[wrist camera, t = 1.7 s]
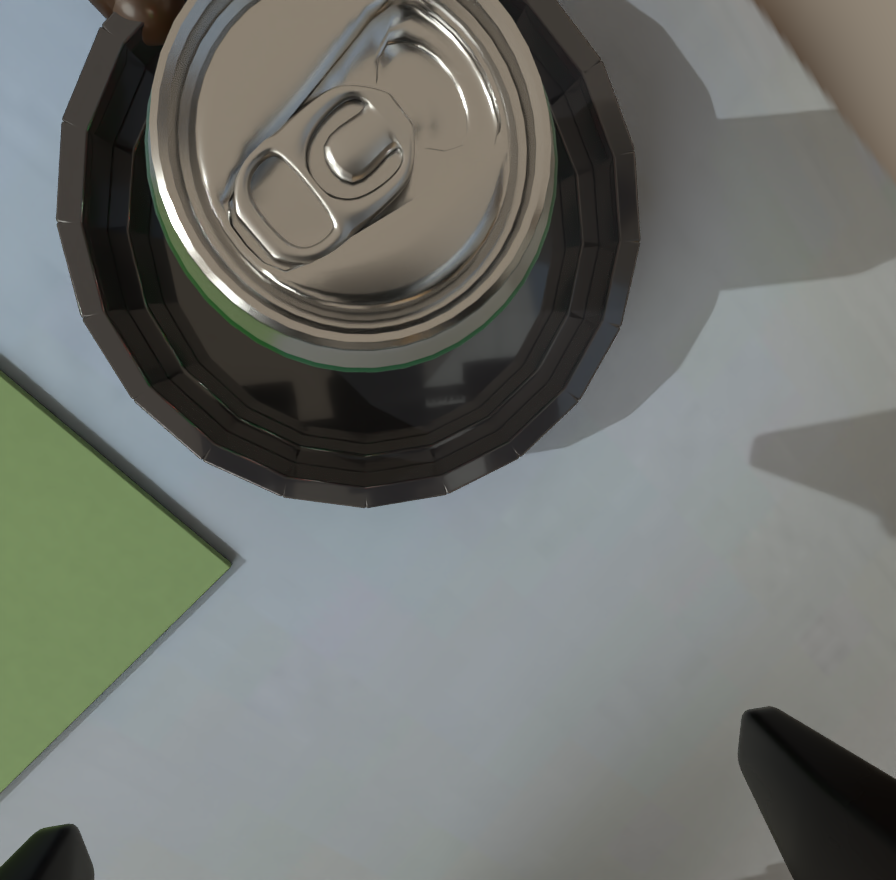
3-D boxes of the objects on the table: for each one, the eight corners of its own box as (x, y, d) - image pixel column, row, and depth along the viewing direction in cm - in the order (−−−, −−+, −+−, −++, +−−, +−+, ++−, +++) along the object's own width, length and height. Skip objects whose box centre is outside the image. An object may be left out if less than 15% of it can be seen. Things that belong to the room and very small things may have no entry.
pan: (685, 253, 20) (743, 245, 17) (367, 560, 21) (366, 605, 18) (362, -155, 17) (360, -259, 14) (0, 231, 18) (-79, 217, 14)
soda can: (486, 256, 19) (672, 191, 7) (356, 366, 19) (335, 471, 8) (374, 108, 18) (385, -249, 6) (236, 227, 18) (-6, 99, 6)
